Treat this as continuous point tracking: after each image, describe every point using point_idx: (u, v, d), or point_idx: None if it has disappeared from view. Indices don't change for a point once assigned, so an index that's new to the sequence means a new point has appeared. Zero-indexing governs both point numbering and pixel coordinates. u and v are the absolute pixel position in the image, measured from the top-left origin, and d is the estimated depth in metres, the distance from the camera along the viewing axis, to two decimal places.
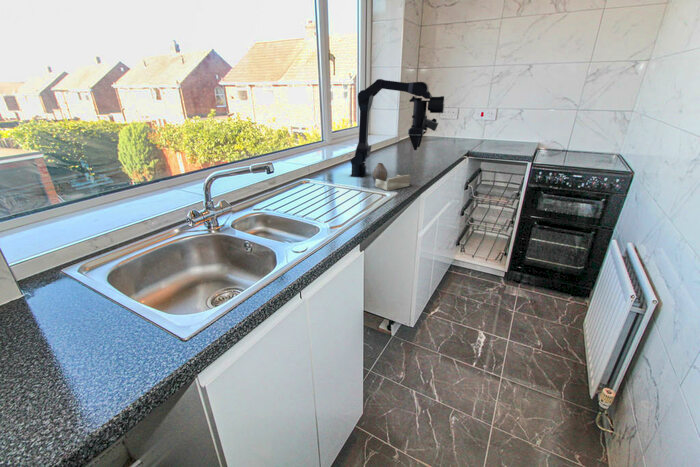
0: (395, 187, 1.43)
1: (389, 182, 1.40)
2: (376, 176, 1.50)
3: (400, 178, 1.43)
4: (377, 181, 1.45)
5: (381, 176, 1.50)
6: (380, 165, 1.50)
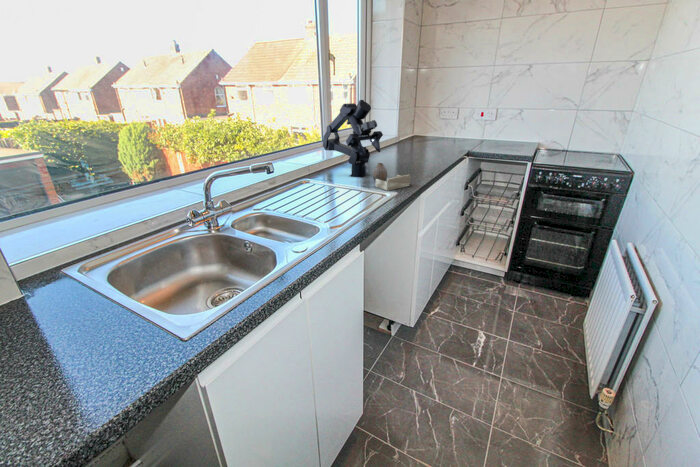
0: (395, 187, 1.43)
1: (389, 182, 1.40)
2: (376, 176, 1.50)
3: (400, 178, 1.43)
4: (377, 181, 1.45)
5: (381, 176, 1.50)
6: (380, 165, 1.50)
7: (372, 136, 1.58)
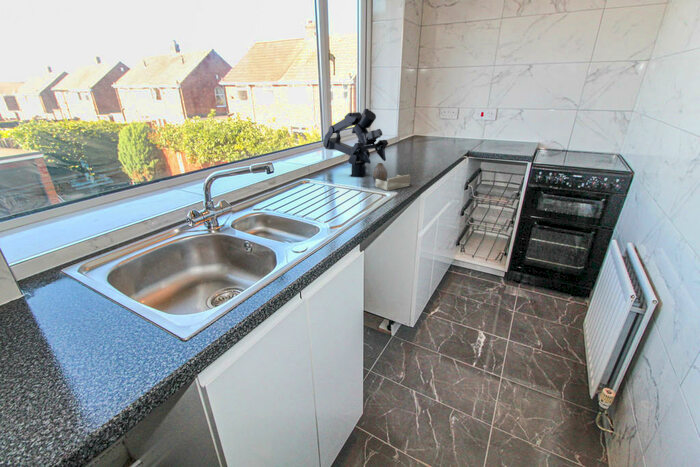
0: (395, 187, 1.43)
1: (389, 182, 1.40)
2: (376, 176, 1.50)
3: (400, 178, 1.43)
4: (377, 181, 1.45)
5: (381, 176, 1.50)
6: (380, 165, 1.50)
7: (377, 145, 1.56)
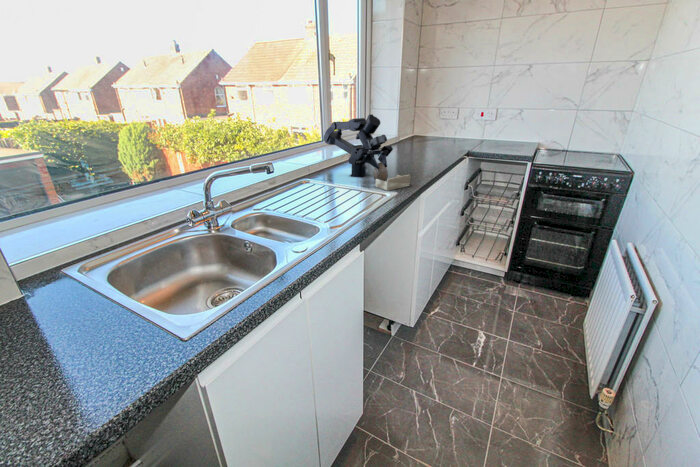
0: (395, 187, 1.43)
1: (389, 182, 1.40)
2: (377, 176, 1.50)
3: (400, 178, 1.43)
4: (377, 181, 1.45)
5: (382, 176, 1.50)
6: (380, 165, 1.50)
7: (382, 151, 1.55)
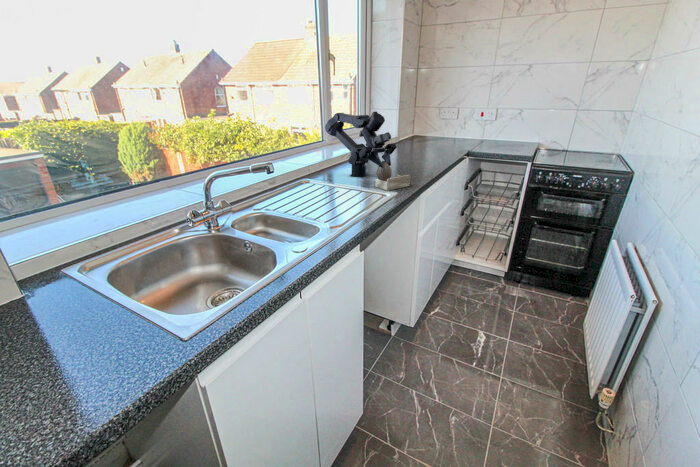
0: (395, 187, 1.43)
1: (389, 182, 1.40)
2: (380, 175, 1.48)
3: (400, 178, 1.43)
4: (377, 181, 1.45)
5: (385, 175, 1.48)
6: (384, 163, 1.47)
7: (386, 148, 1.52)
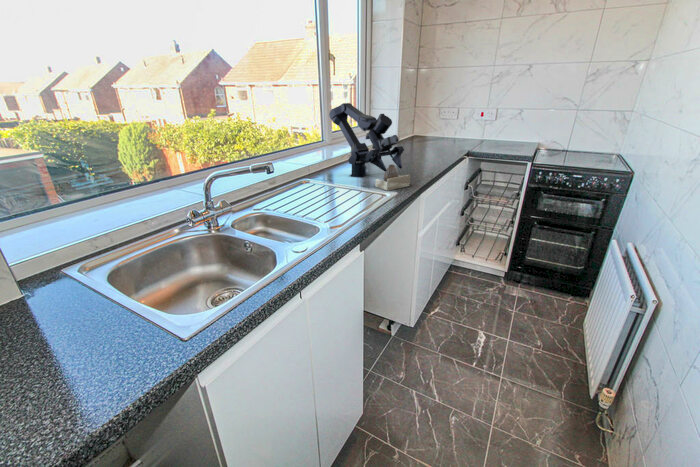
0: (395, 187, 1.43)
1: (389, 182, 1.40)
2: (387, 178, 1.45)
3: (400, 178, 1.43)
4: (377, 181, 1.45)
5: None
6: (391, 167, 1.45)
7: (393, 151, 1.49)
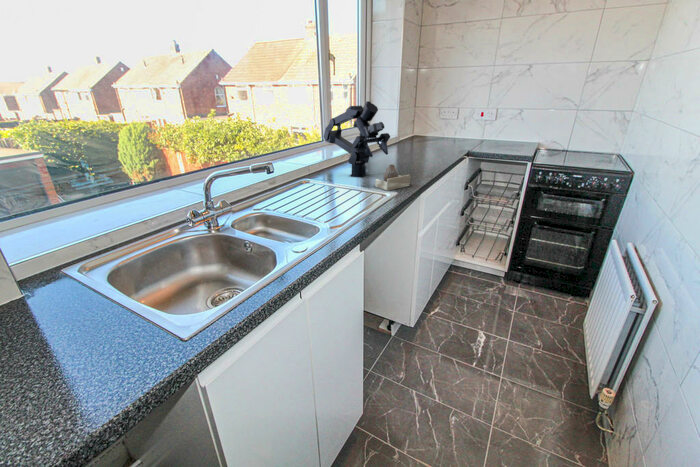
0: (395, 187, 1.43)
1: (389, 182, 1.40)
2: (387, 178, 1.45)
3: (400, 178, 1.43)
4: (377, 181, 1.45)
5: None
6: (391, 167, 1.45)
7: (379, 138, 1.54)
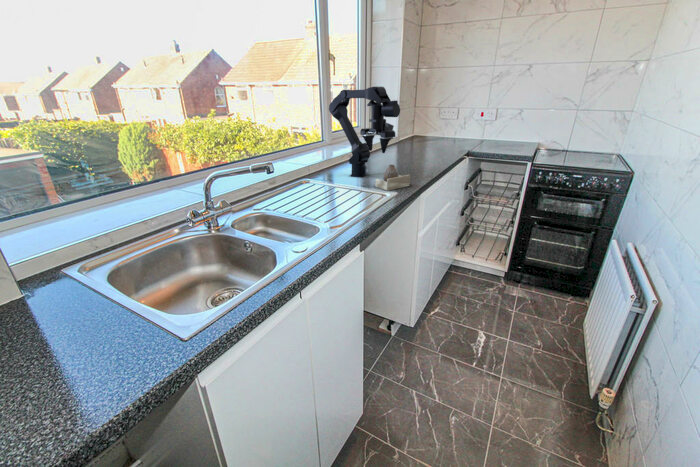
0: (395, 187, 1.43)
1: (389, 182, 1.40)
2: (387, 178, 1.45)
3: (400, 178, 1.43)
4: (377, 181, 1.45)
5: None
6: (391, 167, 1.45)
7: None
